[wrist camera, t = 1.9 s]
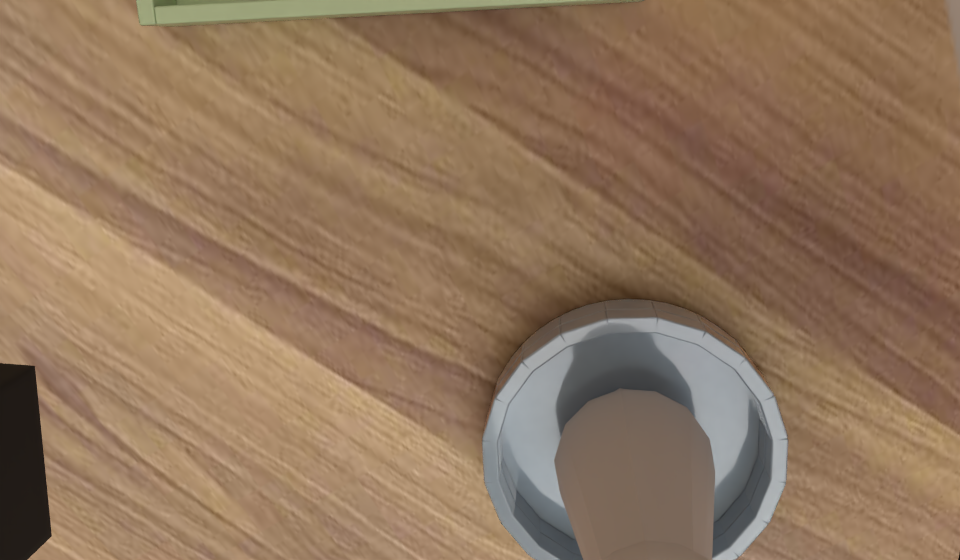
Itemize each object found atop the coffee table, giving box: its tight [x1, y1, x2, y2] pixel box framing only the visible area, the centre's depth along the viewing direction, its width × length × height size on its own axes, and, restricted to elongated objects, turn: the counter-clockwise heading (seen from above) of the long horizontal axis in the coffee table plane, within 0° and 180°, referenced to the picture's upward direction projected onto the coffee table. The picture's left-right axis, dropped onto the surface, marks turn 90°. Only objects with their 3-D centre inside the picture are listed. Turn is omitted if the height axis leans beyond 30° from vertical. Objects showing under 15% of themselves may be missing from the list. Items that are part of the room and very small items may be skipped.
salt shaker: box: [554, 388, 715, 560], centre depth 29 cm, size 6×6×13 cm
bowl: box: [482, 299, 788, 560], centre depth 34 cm, size 11×11×2 cm
